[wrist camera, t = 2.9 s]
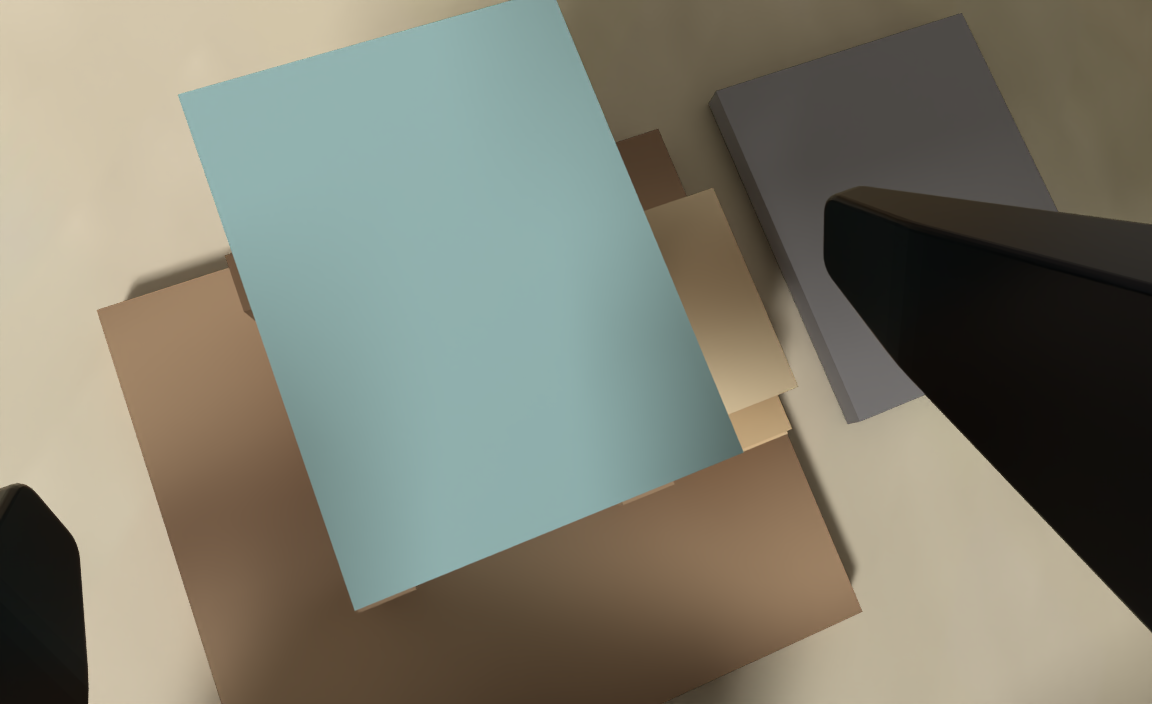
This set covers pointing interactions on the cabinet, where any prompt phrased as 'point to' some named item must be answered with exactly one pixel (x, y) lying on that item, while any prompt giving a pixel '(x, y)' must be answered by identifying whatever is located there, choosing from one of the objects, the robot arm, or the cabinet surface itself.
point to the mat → (870, 169)
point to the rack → (508, 578)
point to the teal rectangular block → (455, 291)
